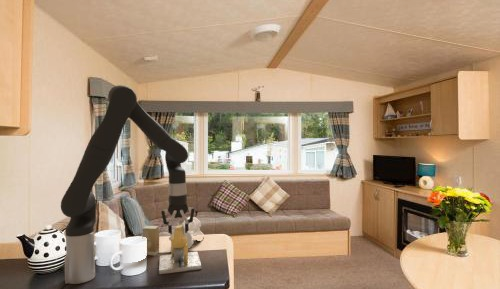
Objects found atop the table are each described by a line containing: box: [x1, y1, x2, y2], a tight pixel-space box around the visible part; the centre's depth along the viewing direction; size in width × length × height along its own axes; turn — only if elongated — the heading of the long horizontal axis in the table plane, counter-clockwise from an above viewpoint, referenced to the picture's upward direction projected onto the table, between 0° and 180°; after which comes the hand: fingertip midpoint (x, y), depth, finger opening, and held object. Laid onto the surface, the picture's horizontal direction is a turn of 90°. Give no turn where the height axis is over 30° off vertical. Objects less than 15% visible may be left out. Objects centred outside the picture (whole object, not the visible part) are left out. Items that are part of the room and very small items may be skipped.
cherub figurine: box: [168, 216, 205, 249], centre depth 155 cm, size 13×12×20 cm
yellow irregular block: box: [170, 223, 187, 248], centre depth 128 cm, size 12×6×7 cm, turn 6°
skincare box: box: [142, 225, 160, 256], centre depth 140 cm, size 6×4×12 cm
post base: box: [158, 244, 202, 275], centre depth 128 cm, size 16×16×10 cm
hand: (178, 232), depth 132 cm, fingers open, 5 cm apart
